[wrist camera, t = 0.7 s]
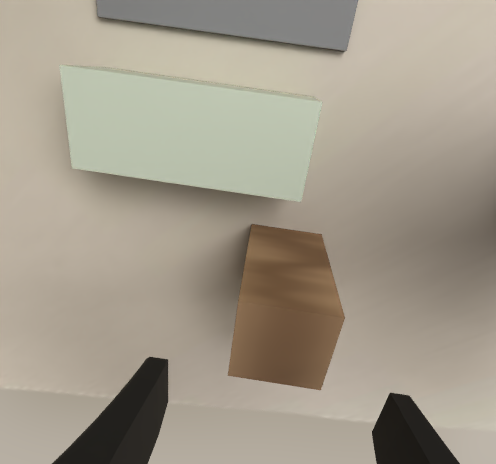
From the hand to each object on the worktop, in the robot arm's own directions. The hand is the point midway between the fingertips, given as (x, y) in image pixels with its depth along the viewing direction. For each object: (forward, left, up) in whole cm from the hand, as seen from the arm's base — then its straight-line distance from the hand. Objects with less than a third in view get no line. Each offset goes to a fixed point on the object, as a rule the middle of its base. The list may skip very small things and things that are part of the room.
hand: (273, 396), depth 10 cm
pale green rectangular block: (+5, -7, -9) cm, 12 cm away
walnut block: (0, 0, -9) cm, 9 cm away
